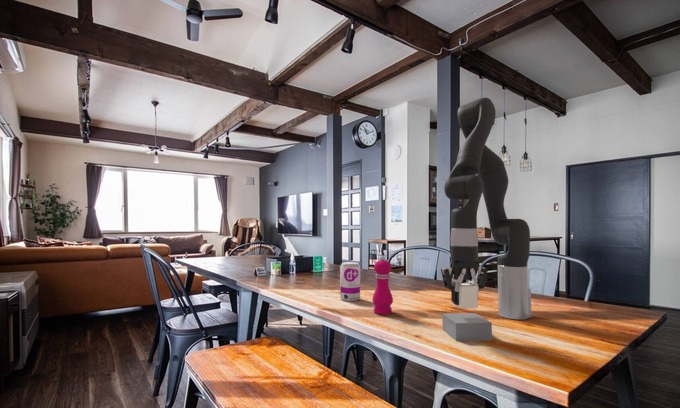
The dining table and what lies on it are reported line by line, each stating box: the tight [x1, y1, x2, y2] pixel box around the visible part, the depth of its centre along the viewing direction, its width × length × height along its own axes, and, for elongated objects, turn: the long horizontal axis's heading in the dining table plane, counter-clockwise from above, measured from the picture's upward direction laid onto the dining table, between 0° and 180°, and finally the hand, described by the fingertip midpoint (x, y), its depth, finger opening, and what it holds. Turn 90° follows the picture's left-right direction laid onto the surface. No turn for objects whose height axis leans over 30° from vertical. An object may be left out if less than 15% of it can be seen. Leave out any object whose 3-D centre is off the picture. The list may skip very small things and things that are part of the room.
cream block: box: [451, 282, 479, 310], centre depth 99 cm, size 5×5×6 cm
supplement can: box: [339, 261, 361, 302], centre depth 144 cm, size 8×8×15 cm
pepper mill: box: [372, 255, 394, 316], centre depth 123 cm, size 7×7×20 cm
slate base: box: [441, 312, 493, 342], centre depth 98 cm, size 10×10×5 cm
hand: (464, 303), depth 99 cm, fingers closed on cream block, 5 cm apart
